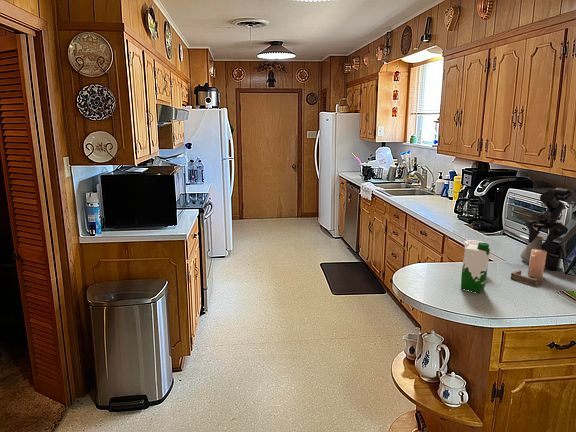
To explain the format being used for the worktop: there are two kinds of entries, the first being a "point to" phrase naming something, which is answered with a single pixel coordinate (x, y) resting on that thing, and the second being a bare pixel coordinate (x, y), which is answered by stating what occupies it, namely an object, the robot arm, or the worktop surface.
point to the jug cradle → (525, 278)
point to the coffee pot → (529, 246)
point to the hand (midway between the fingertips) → (537, 243)
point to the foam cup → (472, 242)
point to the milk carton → (475, 267)
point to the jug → (537, 263)
